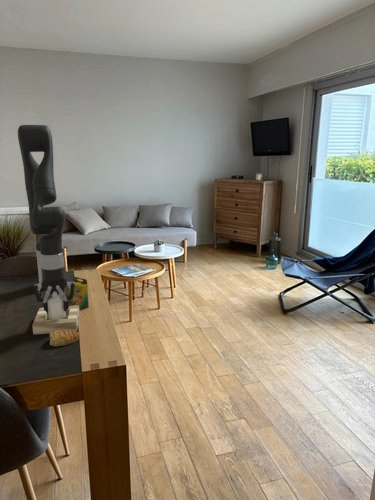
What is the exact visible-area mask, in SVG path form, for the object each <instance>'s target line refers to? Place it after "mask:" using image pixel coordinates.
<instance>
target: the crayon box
mask: <svg viewBox="0 0 375 500" xmlns="http://www.w3.org/2000/svg"><path fill="white" fill-rule="evenodd" d="M72 278H73V281H74V282H75V288H74V295H73V299H72V300H71V299H70V300H69V306H76V305H79V309H83V310H85V309H88V308H89V289H88V288H89V287H88V286H89V285H88V280H87V279H85V278H82V277H77V276H73V277H72ZM80 280H81V281H80ZM68 292H69V294H68V295H70V288H69V287H68Z"/></svg>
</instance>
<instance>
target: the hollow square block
mask: <svg viewBox="0 0 375 500" xmlns="http://www.w3.org/2000/svg"><path fill="white" fill-rule="evenodd" d="M65 312H66V317H65V318H63V319H55V320H49V314H48V313H46V311H44V307H40V308H39V309H38V311H37V313H36V316H35V318H34V320H33V323H32V333H33V334H32V335H46V334H50V332H54V331H56V330H58V331H60V330H72V331H76V332H78V327H79V319H80V308H79V305H76V306H71V305H69V308H68V309H67V311H65Z"/></svg>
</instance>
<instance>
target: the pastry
mask: <svg viewBox="0 0 375 500" xmlns="http://www.w3.org/2000/svg"><path fill="white" fill-rule="evenodd" d="M48 338H49V339H50V340H49V345H50V346H51V347H60V346H66V345H71V344H73V343H76V342H78V341H79V340H80V332H78V331H72V330H60V331H58V330H56V331H54V332H50V333H49V337H48Z"/></svg>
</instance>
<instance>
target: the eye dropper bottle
mask: <svg viewBox="0 0 375 500" xmlns="http://www.w3.org/2000/svg"><path fill="white" fill-rule="evenodd" d="M47 300H48V301H47V303H48V314H49V320H55V319H66V318H65V317H66V312H65V311H64V299H63V298H62V297H61V295H60V294H57V292H53V294H51V297H50V298H48V299H47Z"/></svg>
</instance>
